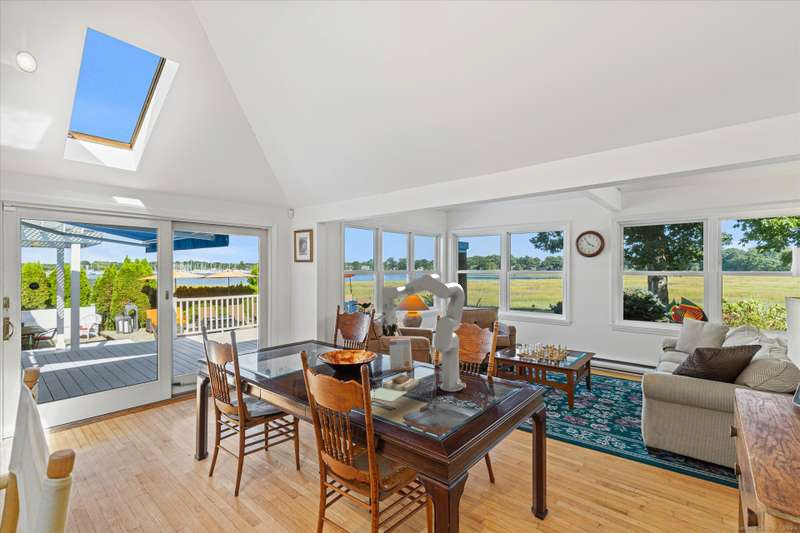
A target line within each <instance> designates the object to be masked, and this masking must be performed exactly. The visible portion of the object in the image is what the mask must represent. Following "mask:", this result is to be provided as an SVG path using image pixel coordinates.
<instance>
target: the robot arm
mask: <svg viewBox="0 0 800 533" xmlns="http://www.w3.org/2000/svg"><path fill="white" fill-rule="evenodd" d="M426 291H427V292H428V293H430V294H432V295H434V296H435V297H437V298H438V299H441V300H442V299H443V300H445V299H449V298H450V299H449V302H448V304H447V311H446V313H445V315H443V316H442V317H440V318H439V319H438V321H437V323H436V328H435V334H434V339H433V346H434V349H435V350H436V351H437V352H438V353H441V374H442V377H441V380H442V383H441V384H440V386H439V388H440V390H442V391H445V392H459V391H461V390H462V389H463V388H464V389H466V387H467V384H466V382H462V379H461V378H460V364H459V363H460V360H459V355H460V354H459V352H460V350H459V349H460V338H459V335H457V333H455V332H456V331H457V330H459V329H460V327H461V324H462V323H461V322H462V316H463V310H464V304H465V300H466V296H465V291H464V289H463V287H462V286H461V285H460V284H458V282H454V281H448V282H443V281H442V280H441V276H440V275H439V274H437V273H433V272H432V273H425V274H423V275H422V276H421V277H417V278H415V279H413V280H412V282H409V283H406V284H404V285H403V284H402V285H398V286H397V285H396V286H392V285H391V286H389V285H388V286H387V285H385V286H383V287H381V308H382V310H381V321H380V323H379V324H380V327H381V329H382V336H388V328H387V327H388V326H390V330H391V333H397V323H398V322H397V321H398V318H397V314H396V307H395V300H398V299H402V298H406V297H410V296H414V295H416V294H419V293H423V292H426Z"/></svg>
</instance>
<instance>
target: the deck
mask: <svg viewBox="0 0 800 533" xmlns="http://www.w3.org/2000/svg"><path fill="white" fill-rule="evenodd" d="M397 376H398V375H397ZM397 376H394V377H392V378H391V379H388V380H386V381H385V382H383V383H382V387H385V388H390V389H396V390H401V391H407V392H409V391H410V390H411V389H413V388H415V387H417V386H418V385H420V381H419V380H420V379H417V378H415V379H414V378H410V377H409V380H408V381H407V382H405V383H403V384H395V383H392V379H393V378H395V377H397Z"/></svg>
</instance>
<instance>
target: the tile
mask: <svg viewBox="0 0 800 533" xmlns="http://www.w3.org/2000/svg"><path fill="white" fill-rule="evenodd" d="M394 377H395V378H394ZM394 377H392V378H393V379H392V378H391V379H392V383H395V384H403V383H405V382H407V381H408V380H409V378H410V375H406V374H399V375H397V377H396V376H394Z"/></svg>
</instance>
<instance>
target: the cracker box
mask: <svg viewBox="0 0 800 533" xmlns="http://www.w3.org/2000/svg"><path fill="white" fill-rule="evenodd" d="M388 342H389V359H390V360H389V362H390V372H401V371H402V372H408V371H409V372H411V371H412V369H413V362H412V361H413V360H412V344H411V337H408V338H406V337H404V338H402V337H399V338H390V339H389V341H388Z"/></svg>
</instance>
